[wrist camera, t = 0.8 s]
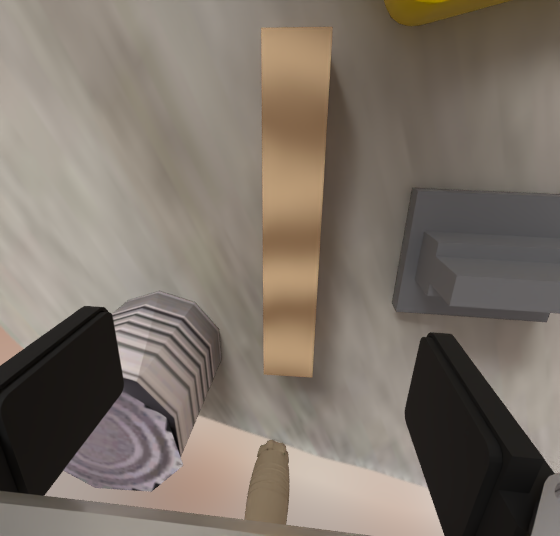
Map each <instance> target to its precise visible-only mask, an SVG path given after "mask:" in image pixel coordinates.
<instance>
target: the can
mask: <svg viewBox="0 0 560 536" xmlns="http://www.w3.org/2000/svg"><path fill="white" fill-rule="evenodd" d="M112 316H113V320H114V326H115V332H116V338H117V344H118V350H119V356H120V362H121V367H122V373H123V379H124V388H123V391H122V393H121V395H120V396H119V398H118V399H117V400H116V402H115V403H114V404H113V406H112V407H111V408H110V410H109V411H108V412H107V413H106V415H105V416H104V417H103V419H102V420H101V421H100V423H99V424H98V425H97V427H96V428H95V429H94V431H93V432H92V433H91V435H90V436H89V437H88V439H87V440H86V441H85V442H84V444H83V445H82V446H81V448H80V449H79V450H78V452H77V453H76V454H75V456H74V457H73V458H72V460H71V461H70V462H69V464H68V465H67V466H66V467H65V469H64V470H63V471H65V472H67V473H69V474H71V475H72V476H74V477H76V478H78V479H80V480H82V481H84V482H85V483H87V484H89V485H91V486H93V487H95V488H107V489H122V490H136V491H137V490H138V491H153V490H154V489H155V488H156V487H158V486H159V485H160V484H161V483H162V482H163V481H165V480H166V479H167V478H169V477H170V476H171V475H172V474H173V473H175V472H176V471H177V470H178V469H180V468H181V467H182V466H183V463H182V460H181V455H182V453H183V450H184V448H185V446H186V443H187V440H188V438H189V436H190V434H191V431H192V429H193V426H194V424H195V422H196V419H197V417H198V414H199V412H200V410H201V407H202V405H203V402H204V400H205V398H206V395H207V393H208V391H209V388H210V386H211V383H212V381H213V379H214V376H215V374H216V371H217V369H218V367H219V364H220V362H221V359H222V357H221V346H220V335H219V328H218V327H217V326H216V325H215V324H214V323H213V322H212V321H211V319H210V318H209V317H208V316H207V315H206V314H205V313H204V312H203V310H202V309H201V308H200V307H199V306H198V305H197V304H196V303H195V302H193V301H190V300H187V299H184V298H180V297H177V296H174V295H171V294H168V293H165V292H162V291H158V292H154V293H151V294H148V295H144V296H141V297H137V298H134V299H131V300H128V301H127V302H125V303H124V304H123V305H122V306H121V307H120V308H118V309H117V310H116V311H115V312H114V313H113V314H112Z"/></svg>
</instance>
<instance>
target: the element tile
mask: <svg viewBox="0 0 560 536" xmlns="http://www.w3.org/2000/svg"><path fill="white" fill-rule="evenodd" d="M508 1H511V0H384V2H385V6H386V8H387V10H388V12H389V14H390V16H391V18H393V19H394V20H395V21H397V22H398V23H399V24H402V25H407V26H419V25H423V24H427V23H431V22H434V21H438V20H442V19H445V18H449V17H453V16H456V15H460V14H464V13H467V12H471V11H475V10H478V9H482V8H486V7H489V6H493V5H497V4H500V3H504V2H508Z"/></svg>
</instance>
